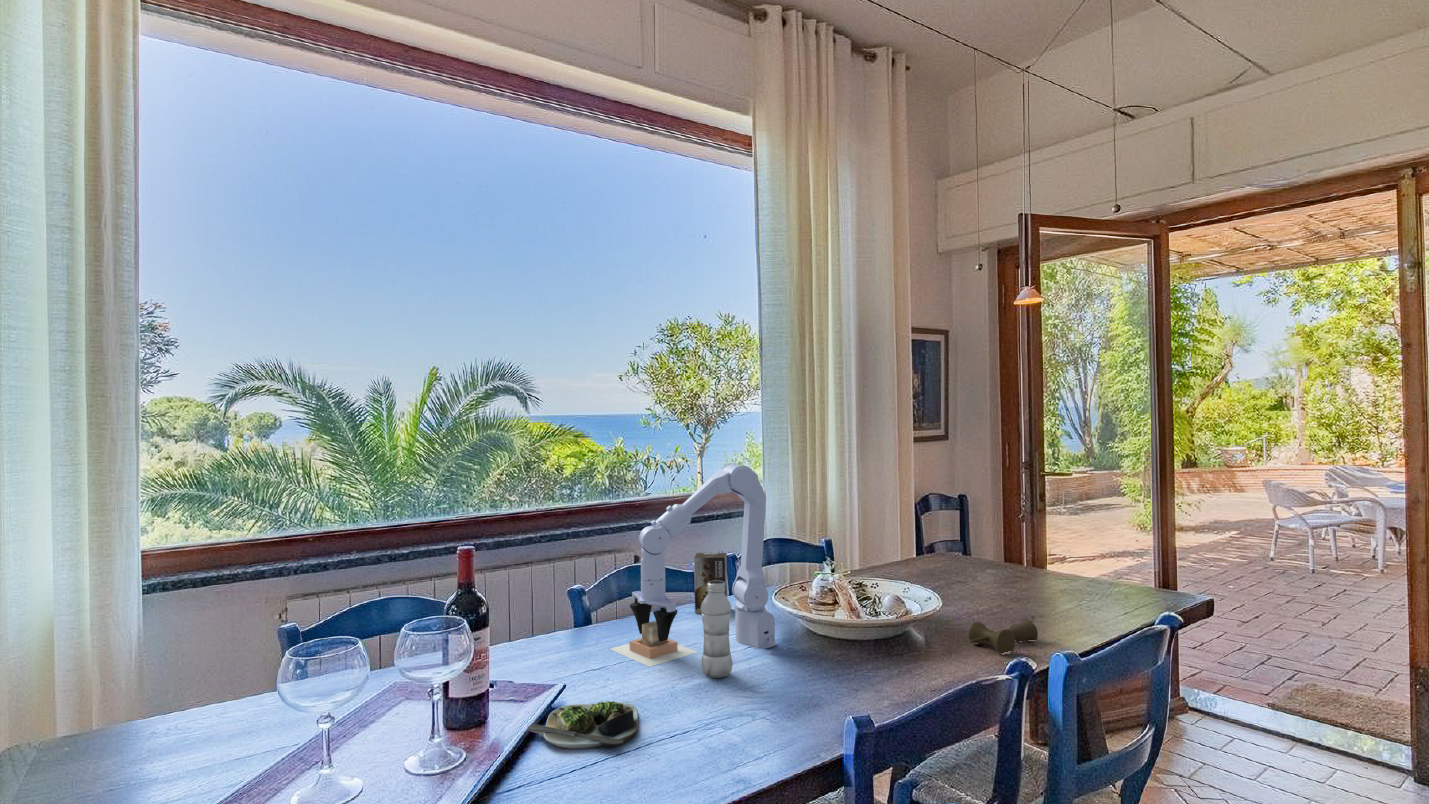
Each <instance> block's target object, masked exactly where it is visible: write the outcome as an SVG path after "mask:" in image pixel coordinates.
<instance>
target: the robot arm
mask: <svg viewBox="0 0 1429 804" xmlns="http://www.w3.org/2000/svg"><path fill="white" fill-rule="evenodd" d="M732 492H733V493H735V494H736V495H737V497H739V498H740V500H741V501H743V503H744V506H743V520H742V521H743V522H742V536H741V537H742V538H741V553H740V566H739V567H738V569H737V570H736V577H735V580H734V581H733V583H732V587H731V591H732V595H733V597H734V598H735V599H736V603H735V605H734V606H735V608H734V609H735V611H734V612H735V613H734V614H735V641H736V643H738V644H741V645H745V646H749V647H754V648H755V649H760V648H762V649H769V648H773V647H775V646H778V643H777V642H776V636H775V635H776V634H775V633H776V627H775V626H776V623H775V617H774V615H773V613H771V612H769V611H768V610H767V609H766V607H765V606H766V605H767V603H768V600H769V591H768V589H767V586H766V576H765V575H764V572H763V556H764V555H763V553H764V552H763V551H764V541H765V540H764V539H765V538H764V537H765V521H766V504H767V495H766V493H765V491H764V489H763V486H762V485H761V483H760V480H759V475H758V473H756V472H755V471H754V470H753V469H752V468H751V467H749V466H747V465H743V464H742V465H740V464H736V463H734V462H733V463H731V462H729V463H727V464H725V465H723V466H722V467H721V469H718V470H716V471H715V472H713V474H712V475H711V476H710V477H709V478H708V479H707V480H706V481H705V482H704V483H703V484H702V485H701V486H700V487H699V488H698V489H697V490H696V491H695V492H694V493H692V494H691V496H689V497H688V498H687V499H686V500H685V501H684V502H683V503H681V504H679V503H678V504H677V503H675V504H673V505H668V506H667V507H666V508H665V510H666V511H665V512H664V513H663V514H662V515H660V517H658V518H657V519H653V520H652V521H651V522H650V524H651V525H649V526H646V527H644V528H643V529H642V530H641V531H640V532H639V533H640V534H639V536H638V537H637V540H638V541H637V542H638V544H639V546H640V547H641V549H640V555H641V558H640V590H637V591H632V592H631V600H632V601H634V602H633V603H630V605H629V607H630V609H631V611H632V613H633V615H634V617H635V621H636V625H637V628H638V632H639V634H640V635H642V624H645V623H649V622H650V616H651V611H652V607H655V608H659V610H655V611H653V612H652V614H653V616H654V618H655V621H656V623H657V629H658V639H659V641H660V642H662V641H665V640H668V639H669V635H670V632H671V627H672V624H673V621H674V619H675V617H676V616H677V614H678V609H676V608H677V607H676V605H677V604H676V601H673V600H671V599H670V597H667V596H666V558H665V556H666V554H665V553H666V552H665V550H667V548H668V545H669V541H671V540H672V539H674V537H676V536H677V535H678V534H679V533H680V532H681V531H682V530H683V529H685V528H686V527H687V526H689V524H691V521H692V515H693V514H694V513H695V512H697V511H698V510H699V509H701V508H702V507H703V506H704V505H705V504H706V503H708V502H709V501H711V500H712V499H713V498H715V496H717V495H720V494H727V493H732Z"/></svg>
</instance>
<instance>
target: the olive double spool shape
mask: <svg viewBox="0 0 1429 804" xmlns="http://www.w3.org/2000/svg"><path fill="white" fill-rule="evenodd" d="M1038 635H1039V633H1038V629H1037V627H1036V625H1035V624H1034V623H1033V622H1031V621H1028V620H1023V621H1021V622H1020V624H1018V623H1017V624H1016V623H1013V624H1010V626H1009V628H1004V629H1000V630H997V631H993V630H990V629H989V628H987V626H986V625H985V624H984V623H982V622H981V621H975V622H972V624H971V625H970V626H969V629H968V639H969V642H970V643H971V644H972V643H978V644H982V645H989V646H992V647H994V649H995V651H996V652H997V653H998V654H999V653H1004V652H1008V651H1012V652H1013V651H1014V649H1015V647H1016V641H1022V642H1021V643H1023V642H1024V641H1026V640H1036V641H1037V639H1038ZM1015 640H1016V641H1015Z"/></svg>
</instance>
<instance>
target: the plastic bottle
mask: <svg viewBox="0 0 1429 804" xmlns="http://www.w3.org/2000/svg"><path fill="white" fill-rule="evenodd" d="M707 591H708V594H707V596H706V597H705V598H704V600H703V602H702V604H701V620H702V626H703V627H702V628H703V649H702V650H703V651H702V655H701V670H702V672H703V674H705V675H706V677H709V678H712V679H713V678H715V679H720V678H721V679H722V678H725V677H728V676H730V674H731V672H733V671H732V669H733V663H734V662H733V659H732V657H733V656H732V654H731V645H730V623H731V614H732V606H731V603H730V601H729V598H728V596H727V597H726V596H725V594H724V592H725V582H723V581H709V582H708V583H707Z"/></svg>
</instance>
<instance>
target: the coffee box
mask: <svg viewBox="0 0 1429 804" xmlns="http://www.w3.org/2000/svg"><path fill="white" fill-rule="evenodd" d="M727 555H728V554H727V552H697V553H695V556H694V557H693V566H694V567H693V568H694V574H693V575H694V614H695V615H696V614H697V615H698V614H699V615H700V614H701V604H702V602H703V600H704V598H705V597H706V596H707V594H708V591H707V583H708V582H709V581H723V582H725V592H724V594H725V596H726V597H727V598H728V569H727V568H728V564H727V563H728V562H727V561H728V560H727V557H728V556H727ZM701 615H702V614H701Z"/></svg>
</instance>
